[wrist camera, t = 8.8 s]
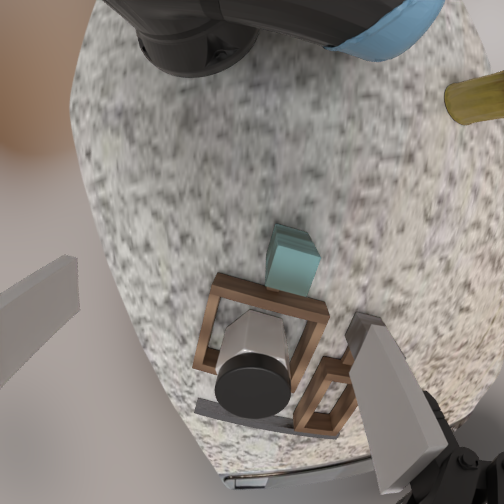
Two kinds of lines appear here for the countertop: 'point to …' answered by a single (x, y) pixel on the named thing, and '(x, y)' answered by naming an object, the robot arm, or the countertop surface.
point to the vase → (476, 99)
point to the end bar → (252, 420)
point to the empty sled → (336, 372)
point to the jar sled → (273, 298)
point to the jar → (254, 367)
